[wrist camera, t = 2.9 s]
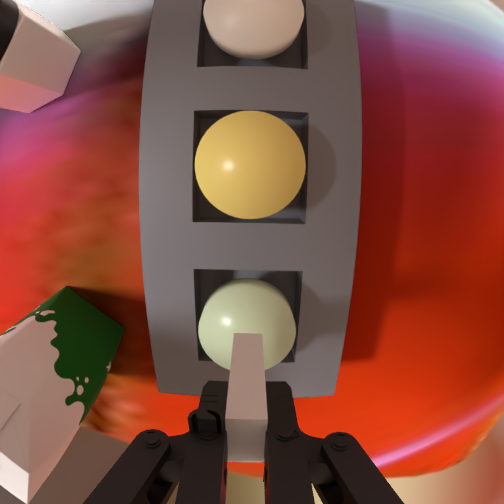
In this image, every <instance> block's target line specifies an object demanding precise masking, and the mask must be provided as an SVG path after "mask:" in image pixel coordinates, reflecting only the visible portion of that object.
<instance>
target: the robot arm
mask: <svg viewBox="0 0 504 504" xmlns="http://www.w3.org/2000/svg"><path fill="white" fill-rule="evenodd" d="M188 424H189V430H190V431H189V432H187V433H185V434H182V435H177V436H169V437H168V436H167V435H166V433H164V432H162V431H160V430H155V429H151V430H145V431H143V432H141V433H140V434H138V435H137V436H136V438H135V439H134V440H133V441H132V443H131V444H130V445H129V446H128V448H127V449H126V450H125V452H124V453H123V454H122V455H121V457H120V458H119V459H118V461H117V462H116V463H115V464H114V466H113V467H112V468H111V469H110V470H109V472H108V473H107V474H106V475H105V477H104V478H103V479H102V480H101V482H100V483H99V484H98V486H97V487H96V488H95V489H94V490H93V492H92V493H91V494H90V495H89V497H88V498H87V499H86V500H85V501H84V503H83V504H166V503H167V502H168V500H169V498H170V496H171V495H172V493H173V491H174V489H175V488H176V486H177V484H178V482H179V487H178V492H177V497H176V502H175V504H225V501H226V485H227V462H264V465H265V466H264V477H263V482H264V487H265V488H264V489H265V504H315V502H314V496H313V491H312V485H311V483H312V484H313V486H314V488H315V490H316V492H317V493H318V495H319V497H320V499H321V501H322V503H323V504H404V503H403V502H402V500H401V499H400V498H399V496H398V495H397V494H396V492H395V491H394V490H393V488H392V487H391V486H390V484H389V483H388V482H387V480H386V479H385V478H384V476H383V475H382V474H381V472H380V471H379V470H378V468H377V467H376V466H375V464H374V463H373V462H372V460H371V459H370V458H369V456H368V455H367V454H366V452H365V451H364V450H363V448H362V447H361V445H360V444H359V443H358V441H357V440H356V439H355V438H354V437H353V436H352V435H350V434H348V433H344V432H335V433H331V434H329V435H327V436H326V437H325V439H322V438H316V437H312V436H309V435H307V434H305V433H303V432H302V431H301V430H300V428H299V426H298V423H297V417H296V411H295V406H294V400H293V395H292V389H291V387H290V386H289V385H288V383H287V382H286V381H265V369H264V354H263V339H262V334H259V333H234V337H233V346H232V356H231V365H230V375H229V381H211V380H209V381H208V382H207V383H206V384H205V385H204V386H203V389H202V393H201V398H200V403H199V407H198V409H196V410H194V411H192V412H191V413H190V414H189V416H188Z"/></svg>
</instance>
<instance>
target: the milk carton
mask: <svg viewBox="0 0 504 504" xmlns="http://www.w3.org/2000/svg"><path fill="white" fill-rule="evenodd" d="M124 330H125V327H123V326H122V325H120V324H119V323H117V322H116V321H114V320H113V319H112V318H110V317H109V316H107V315H106V314H104V313H103V312H101V311H100V310H99V309H97V308H96V307H94V306H93V305H92V304H90V303H89V302H87V301H86V300H85V299H83V298H82V297H81V296H79V295H78V294H77V293H75V292H74V291H73V290H71V289H70V288H69V287H68V286H66V287H64V288H63V289H62V290H60V291H59V292H58V293H56V294H55V295H53V296H52V297H51V298H49V299H48V300H47V301H45V302H44V303H43V304H41V305H40V306H39V307H37V308H36V309H35V310H34V311H32V312H31V313H30V314H28V315H27V316H26V317H24V318H23V319H22V320H20V321H19V322H17V323H16V324H15V325H13V326H12V327H11V328H9V329H8V330H7V331H5V332H4V333H3V334H1V335H0V485H1V486H3V487H4V488H5V489H7V490H8V491H9V492H11V493H12V494H13V495H15V496H16V497H17V498H19V499H20V500H22V501H23V502H25V503H26V504H28V503H29V502H30V500H31V499H32V497H33V496H34V495H35V493H36V492H37V490H38V489H39V488H40V486H41V484H43V482H44V481H45V479H46V478H47V477H48V475H49V474H50V473H51V471H52V470H53V469H54V467H55V466H56V465H57V463H58V461H59V460H60V458H61V457H62V455H63V453H64V452H65V450H66V449H67V447H68V445H69V444H70V442H71V440H72V438H73V437H74V435H75V433H76V432H77V430H78V428H79V427H80V425H81V424H82V422H83V420H84V419H85V417H86V415H87V414H88V412H89V410H90V409H91V407H92V405H93V404H94V402H95V401H96V399H97V397H98V395H99V393H100V391H101V388H102V386H103V384H104V382H105V380H106V378H107V376H108V373H109V371H110V368H111V365H112V362H113V359H114V357H115V354H116V351H117V349H118V346H119V343H120V341H121V338H122V335H123V333H124Z"/></svg>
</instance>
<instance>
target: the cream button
mask: <svg viewBox="0 0 504 504" xmlns="http://www.w3.org/2000/svg"><path fill="white" fill-rule="evenodd" d="M203 14H204V19H205V23H206V26H207V29H208V32H209V35H210V37H211V39H212V41H213V42H214V43H215V45H216V46H218V47H219V48H220V49H221V50H223V51H224V52H226V53H228V54H230V55H232V56H235V57H238V58H243V59H265V58H269V57H273V56H275V55H278V54H280V53H282V52H283V51H285V50H286V49H288V48H289V47H290V46H291V45H292V44H293V42H294V41H295V39H296V38H297V35H298V33H299V30H300V27H301V24H302V21H303V18H304V6H303V3H302V1H301V0H206V1H205V4H204V9H203Z"/></svg>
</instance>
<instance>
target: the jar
mask: <svg viewBox="0 0 504 504" xmlns="http://www.w3.org/2000/svg"><path fill="white" fill-rule="evenodd" d="M80 52H81V51H80V49H79V48H78V47H77V46H76V45H75V44H74V43H73V42H72V40H71V39H70V38H69V37H68V36H67V35H66V34H65V33H64V32H63V31H62V30H61V29H59V28H58V27H56V26H55V25H53V24H52V23H50V22H49V21H47V20H46V19H44V18H43V17H41V16H40V15H38V14H37V13H35V12H34V11H32V10H30V9H29V8H27V7H26V6H24V5H23V4H21V3H19V2H18V1H16V0H0V108H4V109H10V110H15V111H20V112H24V113H30V112H32V111H34V110H36V109H38V108H39V107H41V106H43V105H45V104H47V103H49V102H50V101H52V100H54V99H56V98H58V97H60V96H62V95H63V94H64V91H65V89H66V86H67V83H68V81H69V78H70V76H71V73H72V71H73V69H74V66H75V64H76V62H77V59H78V57H79V55H80Z"/></svg>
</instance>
